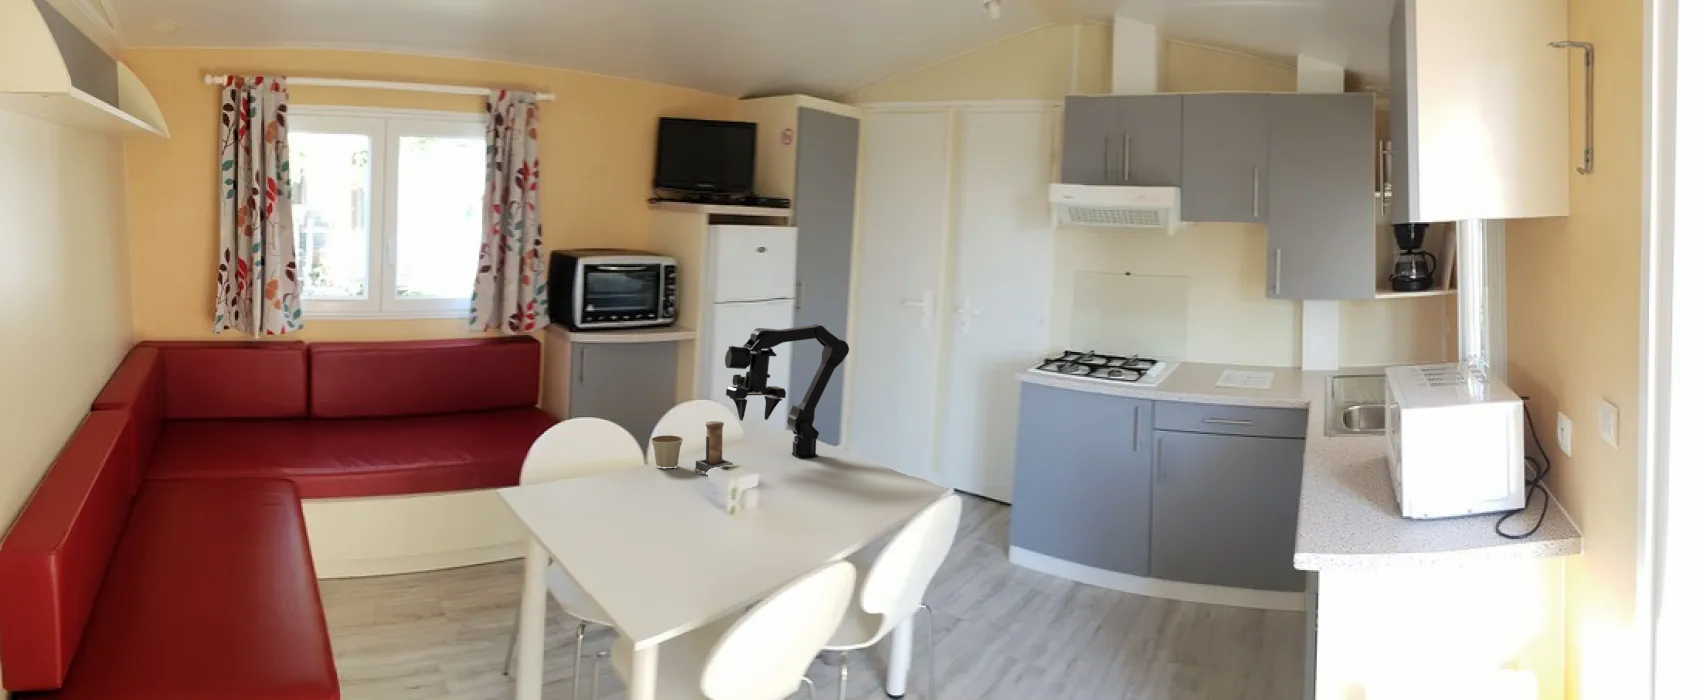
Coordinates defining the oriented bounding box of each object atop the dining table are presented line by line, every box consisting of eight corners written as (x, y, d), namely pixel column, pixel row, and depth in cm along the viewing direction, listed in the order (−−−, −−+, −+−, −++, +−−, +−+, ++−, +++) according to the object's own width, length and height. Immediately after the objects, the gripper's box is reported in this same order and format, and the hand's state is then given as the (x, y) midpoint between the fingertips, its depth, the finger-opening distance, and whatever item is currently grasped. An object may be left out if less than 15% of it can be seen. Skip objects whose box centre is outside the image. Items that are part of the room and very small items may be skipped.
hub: (720, 464, 310) (720, 455, 310) (741, 472, 301) (741, 463, 301) (686, 469, 303) (686, 460, 302) (707, 478, 294) (707, 468, 294)
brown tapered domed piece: (717, 465, 306) (717, 420, 304) (726, 469, 302) (727, 423, 300) (701, 468, 302) (702, 422, 300) (711, 472, 298) (711, 425, 296)
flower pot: (679, 471, 300) (679, 442, 299) (647, 470, 300) (647, 441, 299) (685, 463, 310) (685, 435, 308) (654, 462, 310) (654, 434, 309)
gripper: (768, 365, 325) (763, 414, 326) (718, 365, 313) (713, 415, 314) (789, 371, 316) (784, 421, 318) (738, 371, 304) (733, 422, 306)
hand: (753, 420), depth 314 cm, fingers open, 9 cm apart
